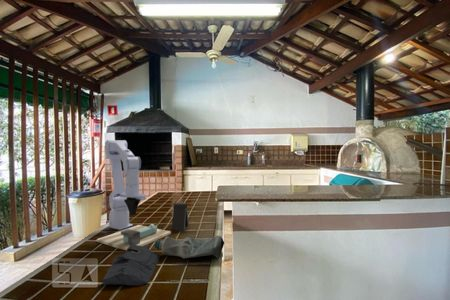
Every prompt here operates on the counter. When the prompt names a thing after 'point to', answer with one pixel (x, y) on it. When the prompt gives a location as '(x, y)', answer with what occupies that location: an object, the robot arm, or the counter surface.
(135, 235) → the keeper board
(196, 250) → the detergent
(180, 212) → the phone stand
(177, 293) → the counter surface
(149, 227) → the link
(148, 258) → the dark grey cloth
